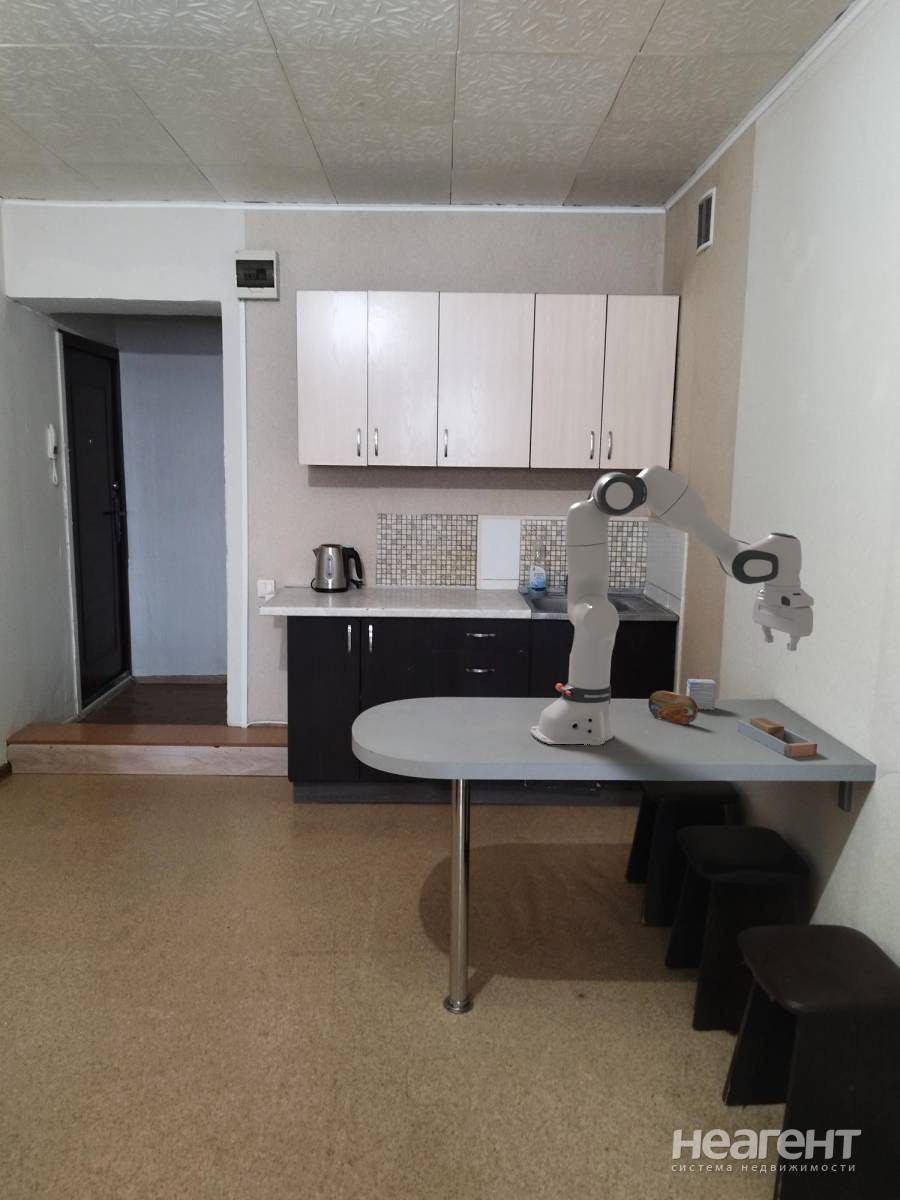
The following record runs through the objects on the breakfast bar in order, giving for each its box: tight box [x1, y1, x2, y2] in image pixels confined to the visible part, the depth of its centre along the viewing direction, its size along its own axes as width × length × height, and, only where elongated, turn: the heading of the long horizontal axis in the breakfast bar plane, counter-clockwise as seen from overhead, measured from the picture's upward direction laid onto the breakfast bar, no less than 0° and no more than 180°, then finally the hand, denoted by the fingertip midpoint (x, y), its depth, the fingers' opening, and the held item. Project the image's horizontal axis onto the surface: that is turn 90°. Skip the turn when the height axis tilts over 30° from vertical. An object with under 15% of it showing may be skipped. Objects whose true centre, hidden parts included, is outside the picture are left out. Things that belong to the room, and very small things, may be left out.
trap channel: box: [737, 719, 818, 758], centre depth 219 cm, size 9×22×3 cm, turn 14°
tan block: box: [749, 717, 785, 742], centre depth 223 cm, size 5×8×4 cm, turn 13°
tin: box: [647, 690, 699, 725], centre depth 237 cm, size 15×3×8 cm, turn 44°
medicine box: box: [686, 678, 717, 711], centre depth 250 cm, size 8×4×9 cm, turn 84°
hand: (780, 646), depth 215 cm, fingers open, 8 cm apart
